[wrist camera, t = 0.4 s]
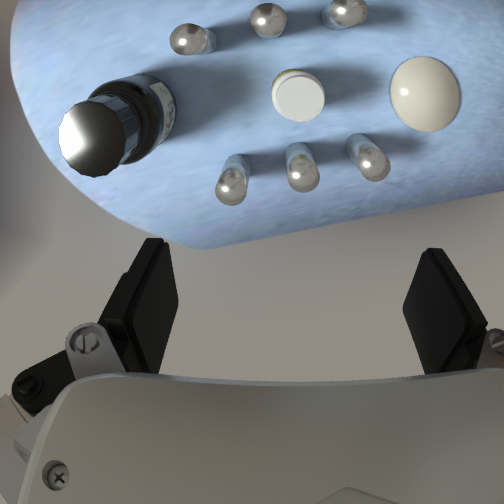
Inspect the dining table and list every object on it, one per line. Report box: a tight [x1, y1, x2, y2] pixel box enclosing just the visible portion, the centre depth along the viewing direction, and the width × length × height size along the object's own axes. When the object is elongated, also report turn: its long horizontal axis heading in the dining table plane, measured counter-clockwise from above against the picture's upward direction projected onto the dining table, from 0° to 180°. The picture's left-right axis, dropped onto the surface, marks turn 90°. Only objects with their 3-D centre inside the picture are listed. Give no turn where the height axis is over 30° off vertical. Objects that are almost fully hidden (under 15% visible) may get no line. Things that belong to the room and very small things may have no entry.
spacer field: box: [170, 0, 390, 206], centre depth 28 cm, size 17×18×7 cm
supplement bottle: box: [272, 69, 325, 122], centre depth 27 cm, size 5×5×8 cm
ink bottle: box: [58, 75, 176, 178], centre depth 28 cm, size 10×9×12 cm
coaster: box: [389, 57, 459, 132], centre depth 29 cm, size 9×9×1 cm
